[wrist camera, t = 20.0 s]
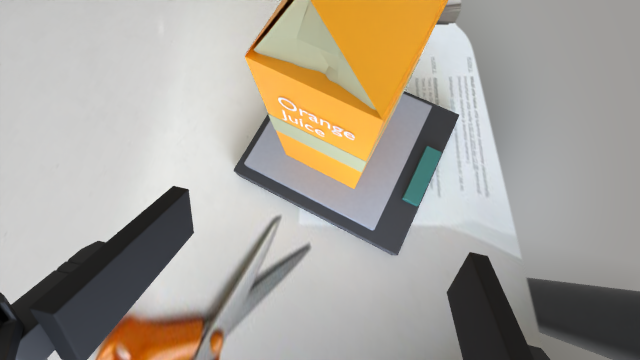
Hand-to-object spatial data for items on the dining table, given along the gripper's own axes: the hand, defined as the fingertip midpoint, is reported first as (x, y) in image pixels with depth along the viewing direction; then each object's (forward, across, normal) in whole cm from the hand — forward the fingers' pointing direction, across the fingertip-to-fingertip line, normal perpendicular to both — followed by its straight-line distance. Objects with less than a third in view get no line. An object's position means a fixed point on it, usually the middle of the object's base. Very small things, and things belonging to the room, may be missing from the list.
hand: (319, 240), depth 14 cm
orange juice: (+17, -1, -1) cm, 17 cm away
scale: (+19, 0, -4) cm, 19 cm away
